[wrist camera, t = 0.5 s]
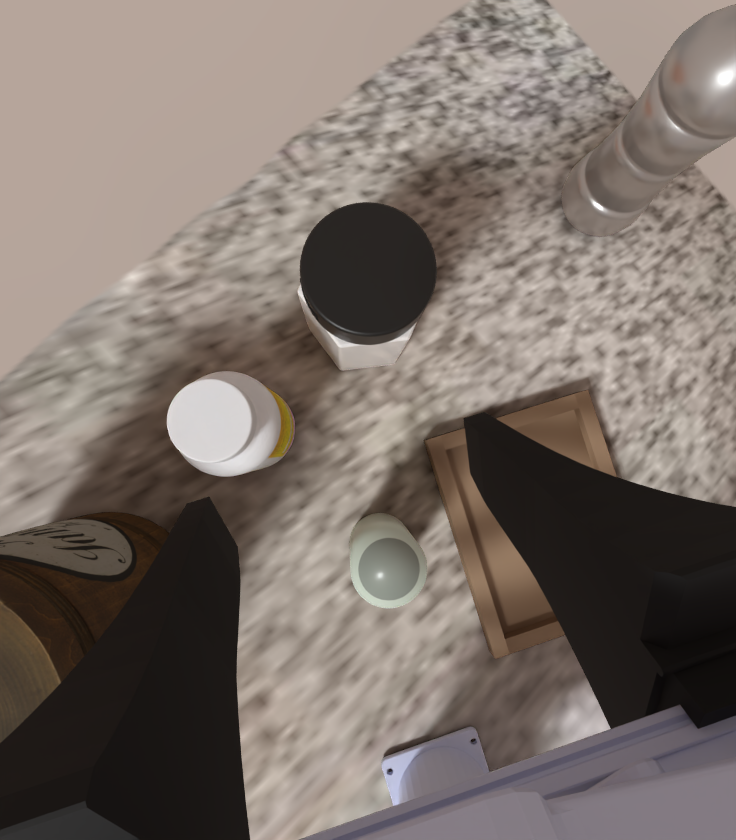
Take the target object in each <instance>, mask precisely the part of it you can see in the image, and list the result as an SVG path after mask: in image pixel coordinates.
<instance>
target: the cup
mask: <svg viewBox="0 0 736 840" xmlns="http://www.w3.org/2000/svg"><path fill="white" fill-rule="evenodd" d="M349 549H350V569H351V578H352V582H353V584H354V587H355V589H356V590H357V592H358V593H359V595H360V596H361V597H362V598H363V599H365V600H366V601H367V602H369V603H370V604H372V605H374V606H377V607H381V608H396V607H400V606H403V605H405V604H407V603H409V602H410V601H412V600H413V599H414V598H415V597H416V596H417V595H418V594H419V592H420V591H421V589H422V588H423V586H424V583H425V580H426V577H427V561H426V557H425V554H424V552H423V550H422V548H421V547H420V545H419V544H418V543H417V541H416V540H415V539H414V537H413V536H412V535H411V533H410V532H409V531H408V530H407V528H406V527H405V526H404V524H403V523H402V522H401V521H400V520H399V519H397V518H396V517H394V516H392V515H390V514H386V513H374V514H370V515H368V516H366V517H364V518H363V519H361V520H360V521H359V522H358V523H357V524H356V525H355V527H354V528H353V530H352V533H351V536H350V541H349Z"/></svg>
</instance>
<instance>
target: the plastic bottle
mask: <svg viewBox="0 0 736 840" xmlns="http://www.w3.org/2000/svg"><path fill="white" fill-rule="evenodd" d="M734 137H736V4H735V5H731V6H728V7H726V8H723V9H720V10H717V11H715V12H712V13H710V14H708V15H706V16H704V17H703V18H701V19H700V20H699V21H697V22H696V23H695V24H693V25H692V26H691V27H689V28H688V29H687V30H686V31H684V32H683V33H682V34H681V35H680V36H679V38H678V39H677V40H676V41H675V43H674V44H673V46H672V47H671V49H670V50H669V51H668V53H667V54H666V56H665V58H664V59H663V61H662V62H661V64H660V66H659V67H658V69H657V71H656V72H655V74H654V75H653V77H652V79H651V80H650V82H649V84H648V85H647V87H646V88H645V90H644V92H643V93H642V95H641V97H640V98H639V99H638V101H637V102H636V103H635V105H634V106H633V107H632V109H631V110H630V111H629V113H628V114H627V115H626V117H625V118H624V119H623V121H622V122H621V123H620V125H619V126H618V127H617V128H616V129H615V130H614V131H613V132H612V133H611V134H610V135H609V136H608V137H607V138H606V139H605V140H604V141H603V142H602V143H601V144H600V145H599V146H597V147H596V148H594V149H593V150H592V151H590V152H589V153H588V154H587V155H586V156H584V157H583V158H582V159H581V160H580V161H579V162H578V163H577V164H576V165H575V166H574V167H573V169H572V170H571V172H570V174H569V176H568V178H567V180H566V182H565V184H564V186H563V189H562V195H561V201H562V207H563V211H564V213H565V216H566V218H567V219H568V221H569V222H570V224H571V225H572V226H573V227H574V228H576V229H577V230H578V231H580V232H582V233H585V234H588V235H591V236H597V237H603V236H609V235H612V234H615V233H617V232H619V231H621V230H623V229H625V228H626V227H628V226H630V225H631V224H632V223H634V222H635V221H636V220H637V219H638V217H639V216H640V215H641V214H642V213H643V212H644V211H645V209H646V208H647V207H648V205H649V204H650V203H651V201H652V200H653V199H654V198H655V197H656V196H657V195H658V194H659V193H660V192H661V191H662V190H663V189H664V188H665V187H666V186H667V185H668V184H669V183H670V182H671V181H672V180H673V179H674V178H675V177H676V176H678V175H679V174H680V173H682V172H683V171H684V170H686V169H687V168H689V167H690V166H691V165H693V164H694V163H695V162H697V161H698V160H699V159H701V158H702V157H703V156H705V155H706V154H708V153H710V152H711V151H713V150H715V149H716V148H718V147H720V146H721V145H723V144H724V143H726V142H728V141H729V140H731V139H733V138H734Z"/></svg>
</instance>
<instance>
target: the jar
mask: <svg viewBox="0 0 736 840" xmlns="http://www.w3.org/2000/svg"><path fill="white" fill-rule="evenodd" d="M436 275H437V267H436V259H435V254H434V251H433V248H432V245H431V243H430V241H429V239H428V237H427V235H426V234H425V232H424V231H423V230H422V228H421V227H420V226H419V225H418V224H417V223H416V222H415V221H414V220H413V219H412V218H410V217H409V216H408V215H406V214H405V213H403V212H402V211H400V210H398V209H396V208H393V207H391V206H388V205H384V204H379V203H371V202H363V203H355V204H350V205H347V206H344V207H341V208H339V209H337V210H335V211H333V212H331V213H330V214H328V215H327V216H325V217H324V218H323V219H322V220H321V221H320V222H319V223H318V224H317V225H316V226H315V227H314V229H313V230H312V231H311V233H310V234H309V236H308V238H307V240H306V242H305V245H304V247H303V251H302V255H301V260H300V277H301V278H300V285H299V288H298V290H297V293H298V296H299V299H300V302H301V305H302V309H303V312H304V315H305V318H306V322H307V325H308V328H309V330H310V331H311V332H312V334H313V335H314V336H315V338H316V339H317V340H318V342H319V343H320V344H321V346H322V347H323V348H324V349H325V351H326V352H327V353H328V355H329V356H330V357H331V359H332V360H333V361H334V363H335V364H336V365H337V367H338V368H339V369H340V370H342V371H343V370H351V369H360V368H368V367H377V366H386V365H393V364H395V363H396V361H397V359H398V357H399V356H400V354H401V352H402V351H403V349H404V347H405V346H406V344H407V342H408V341H409V339H410V337H411V335H412V332H413V330H414V328H415V325H416V323H417V321H418V319H419V318H420V316H421V315H422V313H423V311H424V310H425V308H426V306H427V305H428V303H429V301H430V299H431V297H432V294H433V291H434V288H435V283H436Z"/></svg>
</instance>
